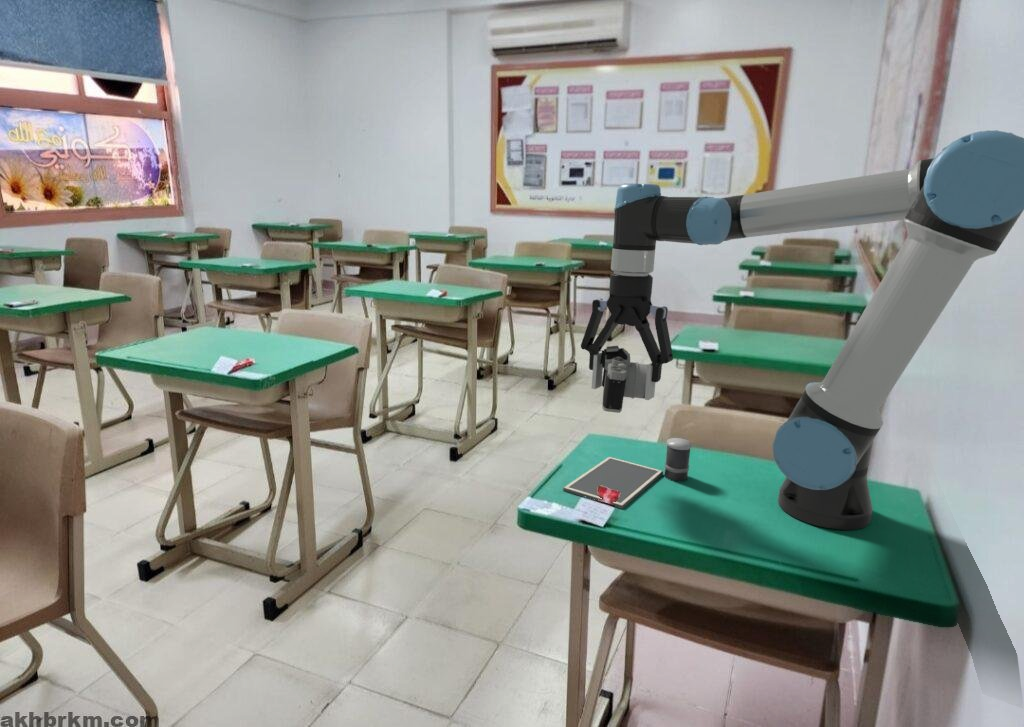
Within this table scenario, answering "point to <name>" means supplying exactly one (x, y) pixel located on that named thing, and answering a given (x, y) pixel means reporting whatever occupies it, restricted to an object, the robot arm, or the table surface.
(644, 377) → the camera
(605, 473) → the mat
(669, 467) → the lens
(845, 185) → the robot arm
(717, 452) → the table surface
